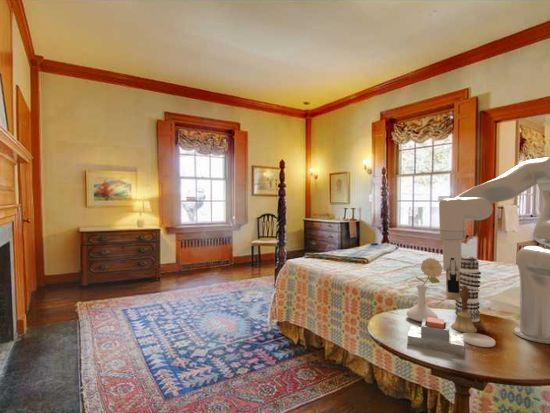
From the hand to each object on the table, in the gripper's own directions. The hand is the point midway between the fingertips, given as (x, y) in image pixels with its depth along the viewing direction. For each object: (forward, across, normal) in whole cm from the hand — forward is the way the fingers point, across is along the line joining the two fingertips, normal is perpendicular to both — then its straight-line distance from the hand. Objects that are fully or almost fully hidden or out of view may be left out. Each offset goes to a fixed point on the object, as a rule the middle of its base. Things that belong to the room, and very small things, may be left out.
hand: (453, 290), depth 108 cm
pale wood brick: (+3, 0, 0) cm, 3 cm away
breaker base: (+17, +4, -6) cm, 19 cm away
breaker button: (+14, +4, -5) cm, 16 cm away
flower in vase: (+18, -18, -11) cm, 28 cm away
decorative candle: (+18, -29, +5) cm, 35 cm away
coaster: (+18, -5, +7) cm, 20 cm away
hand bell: (+18, -16, +3) cm, 24 cm away
